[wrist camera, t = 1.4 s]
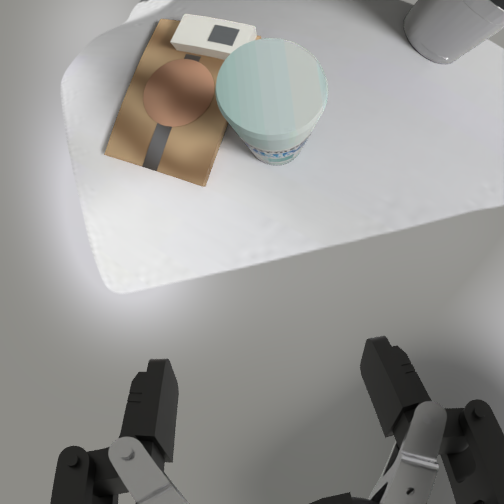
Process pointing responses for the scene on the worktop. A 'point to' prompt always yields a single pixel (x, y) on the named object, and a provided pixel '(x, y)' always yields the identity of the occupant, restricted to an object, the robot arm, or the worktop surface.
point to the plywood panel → (170, 111)
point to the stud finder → (211, 36)
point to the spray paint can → (272, 97)
